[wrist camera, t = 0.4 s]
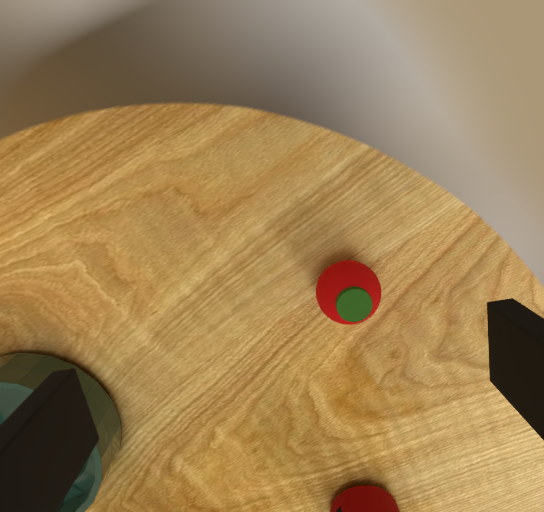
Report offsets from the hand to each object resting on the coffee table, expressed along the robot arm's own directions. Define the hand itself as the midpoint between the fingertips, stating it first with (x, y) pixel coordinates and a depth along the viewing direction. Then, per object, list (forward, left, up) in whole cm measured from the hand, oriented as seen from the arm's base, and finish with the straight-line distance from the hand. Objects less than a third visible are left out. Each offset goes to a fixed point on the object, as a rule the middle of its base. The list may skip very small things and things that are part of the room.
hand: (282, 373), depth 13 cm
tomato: (+5, +4, -21) cm, 22 cm away
